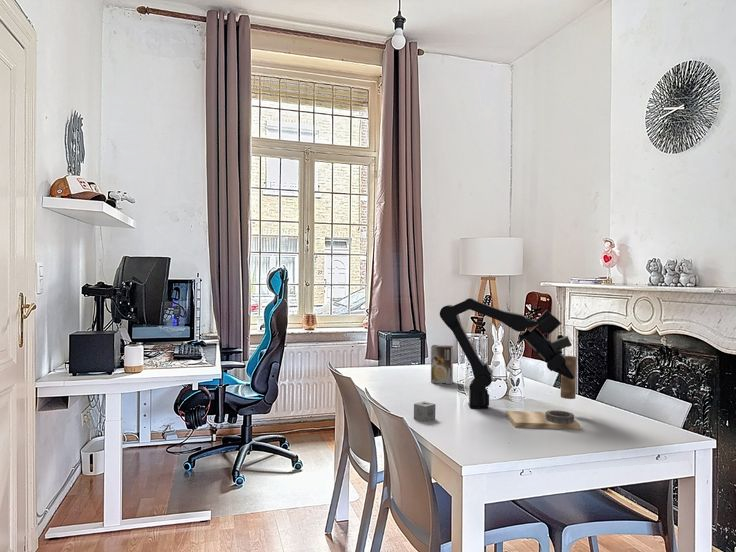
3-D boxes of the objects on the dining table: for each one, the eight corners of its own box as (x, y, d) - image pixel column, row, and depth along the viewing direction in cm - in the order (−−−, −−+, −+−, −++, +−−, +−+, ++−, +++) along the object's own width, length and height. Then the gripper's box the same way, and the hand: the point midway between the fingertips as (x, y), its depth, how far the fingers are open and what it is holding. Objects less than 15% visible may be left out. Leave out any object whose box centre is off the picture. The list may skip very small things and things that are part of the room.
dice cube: (435, 419, 173) (435, 404, 173) (425, 422, 170) (425, 406, 169) (423, 416, 177) (423, 401, 177) (413, 418, 173) (413, 403, 173)
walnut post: (562, 398, 179) (563, 357, 179) (559, 395, 184) (559, 355, 183) (577, 399, 178) (577, 358, 178) (573, 396, 183) (574, 355, 183)
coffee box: (453, 381, 233) (453, 345, 233) (451, 384, 227) (451, 347, 227) (432, 380, 236) (433, 344, 236) (430, 383, 230) (430, 346, 229)
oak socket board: (514, 427, 165) (515, 416, 165) (506, 415, 179) (506, 404, 179) (580, 429, 163) (580, 418, 163) (566, 417, 177) (566, 406, 177)
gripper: (558, 330, 173) (594, 366, 170) (555, 325, 191) (588, 357, 188) (533, 352, 175) (567, 388, 172) (532, 345, 193) (564, 377, 190)
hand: (572, 377), depth 180 cm, fingers closed on walnut post, 5 cm apart
